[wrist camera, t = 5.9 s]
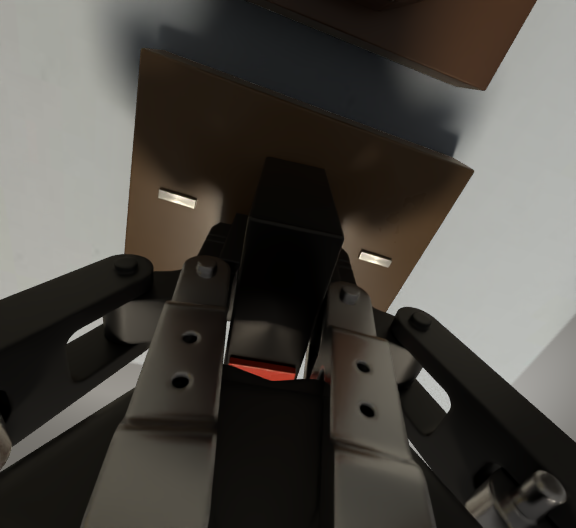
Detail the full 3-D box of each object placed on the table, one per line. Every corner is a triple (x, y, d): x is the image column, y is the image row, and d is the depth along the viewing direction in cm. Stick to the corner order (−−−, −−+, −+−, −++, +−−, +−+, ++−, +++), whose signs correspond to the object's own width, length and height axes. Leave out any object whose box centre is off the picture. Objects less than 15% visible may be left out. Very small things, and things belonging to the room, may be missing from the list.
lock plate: (453, 157, 14) (478, 172, 12) (361, 315, 18) (368, 344, 16) (162, 48, 12) (137, 46, 10) (139, 254, 16) (120, 278, 14)
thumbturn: (266, 155, 12) (246, 221, 7) (326, 168, 12) (347, 242, 7) (244, 280, 15) (218, 390, 10) (292, 289, 15) (292, 401, 10)
